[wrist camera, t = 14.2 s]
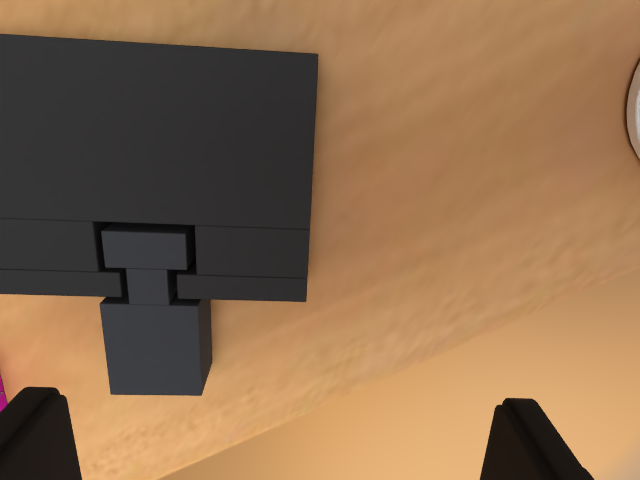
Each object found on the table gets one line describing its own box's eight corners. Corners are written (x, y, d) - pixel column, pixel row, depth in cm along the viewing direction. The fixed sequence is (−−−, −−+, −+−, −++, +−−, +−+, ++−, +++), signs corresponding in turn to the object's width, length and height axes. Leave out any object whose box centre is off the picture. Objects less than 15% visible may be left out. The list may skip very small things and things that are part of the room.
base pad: (315, 58, 28) (318, 54, 24) (305, 277, 32) (306, 302, 29) (-18, 37, 26) (-71, 29, 22) (23, 269, 31) (-15, 294, 27)
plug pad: (207, 216, 30) (195, 234, 27) (212, 362, 34) (201, 395, 31) (116, 212, 30) (90, 230, 26) (131, 360, 34) (110, 394, 30)
